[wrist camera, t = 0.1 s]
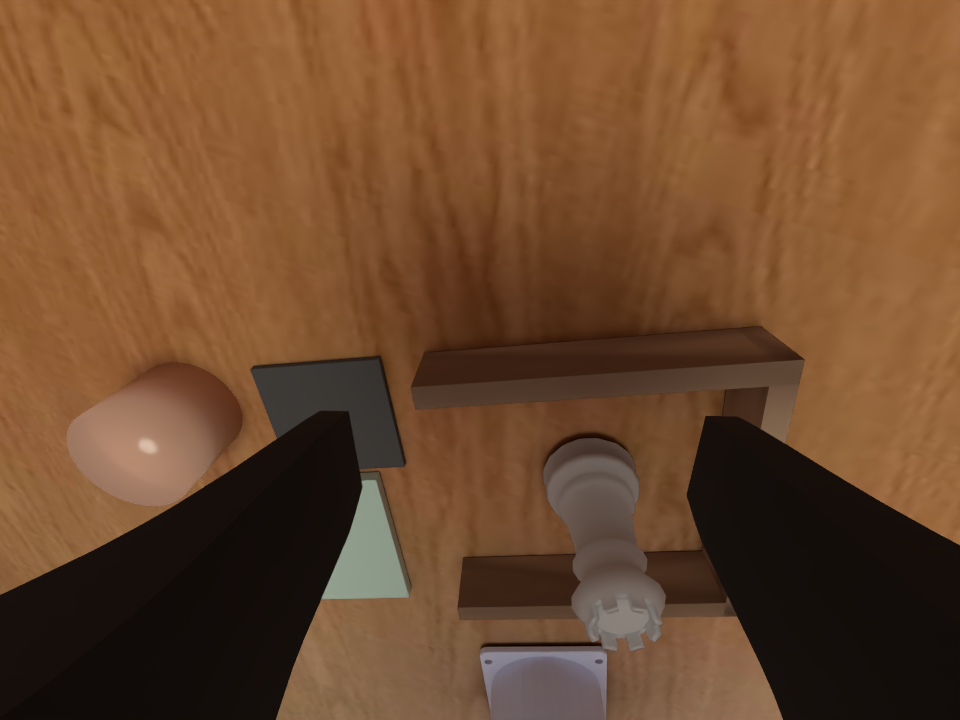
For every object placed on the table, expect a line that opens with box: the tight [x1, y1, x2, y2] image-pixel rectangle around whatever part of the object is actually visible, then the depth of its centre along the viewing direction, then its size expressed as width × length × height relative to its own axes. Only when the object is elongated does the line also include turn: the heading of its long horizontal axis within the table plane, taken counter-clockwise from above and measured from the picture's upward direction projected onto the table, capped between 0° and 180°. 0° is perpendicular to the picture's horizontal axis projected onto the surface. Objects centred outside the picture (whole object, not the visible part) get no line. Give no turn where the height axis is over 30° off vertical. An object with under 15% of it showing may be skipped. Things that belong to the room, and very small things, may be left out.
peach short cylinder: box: [67, 363, 242, 506], centre depth 20 cm, size 5×5×4 cm
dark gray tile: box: [250, 356, 406, 469], centre depth 21 cm, size 6×6×1 cm
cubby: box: [411, 326, 805, 620], centre depth 21 cm, size 14×14×3 cm
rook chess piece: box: [543, 438, 666, 652], centre depth 18 cm, size 4×4×8 cm
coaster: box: [322, 472, 411, 599], centre depth 25 cm, size 9×9×1 cm
